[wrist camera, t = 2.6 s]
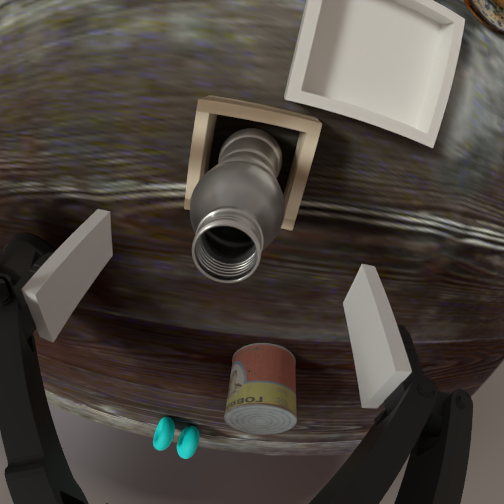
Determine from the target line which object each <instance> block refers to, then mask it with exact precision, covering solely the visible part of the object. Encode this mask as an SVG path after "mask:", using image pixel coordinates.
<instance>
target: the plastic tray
mask: <svg viewBox="0 0 504 504" xmlns="http://www.w3.org/2000/svg"><path fill="white" fill-rule="evenodd" d="M464 23H465V19H464V18H462V17H461V16H459V15H457V14H456V13H454V12H452V11H451V10H449V9H447V8H446V7H444V6H442V5H440V4H439V3H437V2H435V1H433V0H306V5H305V9H304V13H303V17H302V22H301V26H300V30H299V35H298V39H297V43H296V47H295V52H294V56H293V60H292V64H291V69H290V73H289V77H288V82H287V86H286V90H285V95H284V98H285V100H289V101H293V102H297V103H301V104H305V105H309V106H313V107H317V108H320V109H324V110H328V111H331V112H334V113H338V114H341V115H344V116H348V117H351V118H354V119H357V120H360V121H363V122H366V123H369V124H372V125H375V126H378V127H381V128H383V129H386V130H389V131H392V132H394V133H397V134H399V135H402V136H405V137H407V138H410V139H412V140H414V141H417V142H419V143H422V144H424V145H426V146H429V147H431V148H433V147H434V144H435V141H436V138H437V135H438V132H439V128H440V125H441V122H442V119H443V115H444V112H445V108H446V105H447V101H448V98H449V94H450V90H451V86H452V82H453V78H454V74H455V70H456V65H457V61H458V56H459V51H460V46H461V41H462V35H463V29H464Z"/></svg>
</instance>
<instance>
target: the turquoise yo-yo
mask: <svg viewBox="0 0 504 504" xmlns="http://www.w3.org/2000/svg"><path fill="white" fill-rule="evenodd" d="M174 432H175V424H174V421H173V419H172V418H170V417H163V418H162V419H161V420H160V422H159V424H158V426H157V428H156V431H155V434H154V440H153V445H154V447H155V448H156V449H157V450H165V449H166V448H167V447H168V446H169V445H170V443H171V441H172V439H173V436H174ZM198 442H199V430H198V428H197V427H195V426H193V425H190V426H187V427H186V428H184V429H183V431H182V432H181V434H180V436H179V439H178V443H177V452H178V454H179V456H180V457H182V458H184V459H187V458H190V457H191V456H192V455H193V454H194V452H195V451H196V448H197V446H198Z"/></svg>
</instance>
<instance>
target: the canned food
mask: <svg viewBox="0 0 504 504" xmlns="http://www.w3.org/2000/svg"><path fill="white" fill-rule="evenodd" d="M295 364H296V360H295V357H294V355H293V354H292V353H291V352H290V351H289V350H287V349H286V348H284V347H282V346H279V345H275V344H270V343H255V344H250V345H247V346H244V347H242V348H240V349H239V350H237V351H236V352H235V354H234V355H233V358H232V368H231V376H230V383H229V390H228V397H227V404H226V412H225V415H224V420H225V422H226V423H227V424H228V425H229V426H230V427H232V428H234V429H236V430H239V431H242V432H245V433H251V434H261V435H266V434H276V433H281V432H284V431H287V430H289V429H291V428H292V427H294V426H295V425H296V423H297V417H296V375H295Z"/></svg>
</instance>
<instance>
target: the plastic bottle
mask: <svg viewBox="0 0 504 504" xmlns="http://www.w3.org/2000/svg"><path fill="white" fill-rule="evenodd" d="M281 166H282V152H281V149H280V146H279V145H278V143H277V141H276V140H275V139H274V138H273V137H272V136H271V135H270V134H268V133H267V132H265V131H263V130H261V129H256V128H247V129H242V130H239V131H237V132H235V133H233V134H232V135H230V136H229V137H228V138H227V139H226V140H225V142H224V143H223V145H222V147H221V150H220V154H219V159H218V164H217V165H216V166H215V167H213V168H212V169H211V170H209V171H208V172H207V173H206V174H205V175H204V176H203V177H202V178H201V179H200V181H199V182H198V183H197V185H196V187H195V188H194V190H193V193H192V196H191V200H190V219H191V224H192V227H193V230H194V232H195V238H194V241H193V244H192V257H193V260H194V263H195V265H196V266H197V268H198V269H199V270H200V272H201V273H203V274H204V275H205V276H206V277H208V278H210V279H212V280H214V281H217V282H222V283H235V282H239V281H242V280H244V279H246V278H248V277H249V276H250V275H252V274H253V272H254V271H255V270H256V268H257V266H258V264H259V262H260V258H261V252H262V250H263V249H265V248H266V247H267V246H268V245H270V243H271V242H272V241H273V240H274V239H275V237H276V235H277V234H278V232H279V230H280V228H281V227H282V224H283V221H284V217H285V203H284V198H283V193H282V191H281V188H280V186H279V183H278V181H277V177H278V175H279V172H280V170H281Z"/></svg>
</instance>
